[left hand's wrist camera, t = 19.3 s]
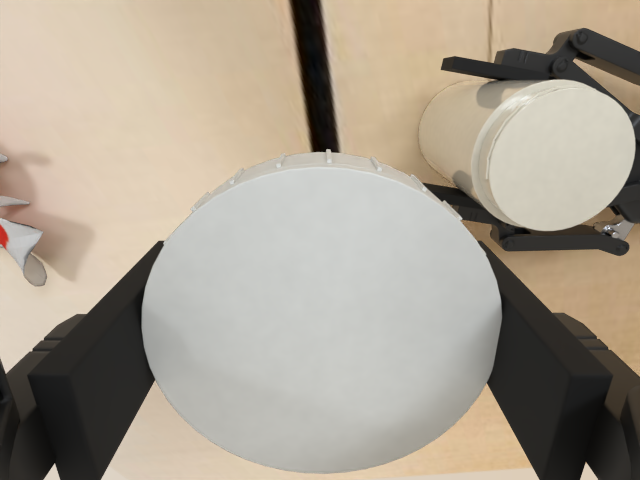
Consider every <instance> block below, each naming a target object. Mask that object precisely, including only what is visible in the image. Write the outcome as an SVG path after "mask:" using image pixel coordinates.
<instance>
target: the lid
mask: <svg viewBox="0 0 640 480" xmlns="http://www.w3.org/2000/svg"><path fill="white" fill-rule="evenodd" d="M191 210H192V211H193V212H192V213H191V214H190V215H189V216H188V217H187V218H186V219H185V220H184V221H183V222H182V223H181V224H180V225H179V226H178V227H177V228H176V229H175V231H174V232H173V233H172V234H171V235H170V236H169V237H168V238H167V239H166V240H165V241H164V243H163V244H164V246H163V248H162V250H161V252H160V253H159V255H158V257H157V259H156V261H155V263H154V265H153V267H152V270H151V272H150V275H149V278H148V281H147V284H146V287H145V292H144V298H143V303H142V323H141V329H142V336H143V344H144V349H145V353H146V356H147V360H148V363H149V366H150V369H151V371H152V373H153V375H154V378H155V380H156V382H157V384H158V386H159V387H160V389H161V391H162V392H163V394H164V395H165V397H166V399H167V400H168V402H169V403H170V404H171V405H172V406H173V408H174V409H175V410H176V411H177V412H178V414H179V415H180V416H181V417H182V418H183V419H184V420H185V421H186V422H187V423H188V424H189V425H191V426H192V427H193V428H194V429H195V430H196V431H197V432H199V433H200V434H201V435H203V436H204V437H205V438H207V439H208V440H210V441H211V442H213V443H214V444H216V445H218V446H219V447H221V448H223V449H225V450H226V451H228V452H230V453H232V454H235V455H237V456H239V457H241V458H244V459H246V460H249V461H252V462H255V463H258V464H261V465H264V466H267V467H272V468H276V469H280V470H285V471H293V472H301V473H319V474H328V473H344V472H351V471H357V470H363V469H368V468H372V467H375V466H379V465H383V464H386V463H389V462H392V461H394V460H397V459H400V458H402V457H405V456H407V455H409V454H411V453H413V452H415V451H417V450H419V449H421V448H422V447H424V446H426V445H427V444H429V443H430V442H432V441H434V440H435V439H437V438H438V437H439V436H441V435H442V434H443V433H444V432H446V431H447V430H448V429H449V428H451V427H452V426H453V425H454V424H455V423H456V422H457V421H458V420H459V419H460V418H461V417H462V416H463V415H464V414H465V413H466V412H467V411H468V410H469V408H470V407H471V406H472V404H473V403H474V402H475V400H476V399H477V398H478V397H479V395H480V393H481V392H482V390H483V388H484V386H485V385H486V383H487V381H488V379H489V377H490V375H491V372H492V369H493V365H494V359H495V354H496V349H497V343H498V338H499V333H500V327H501V322H502V306H501V298H500V293H499V289H498V285H497V280H496V278H495V275H494V273H493V270H492V268H491V265H490V263H489V260H488V258H487V257H486V253H485V251H484V250H483V249H482V248H481V247H480V245H479V244H478V242H477V240H476V239H475V238H474V237H473V235H472V234H471V233H470V232H469V231H468V229H467V228H466V227H465V226H464V225H463V223H462V222H461V220H462V219H463V218H462V217H461V216H460V215H459V214H458V213H457V212H456V211H455V210H454V209H453V208H452V207H451V206H450V205H449V204H448V203H447V202H446V201H445V200H444V201H443V202H441V201H440V200H439V199H438V198H437V197H436V196H435V195H434V194H433V193H431V192H430V191H429V190H428V189H427V188H426V187H425V186H424V185H423V184H422V183H421V182H420V181H419V180H418V179H417V177H416V176H414V175H413V174H411V176H408V175H407V174H405V173H403V172H401V171H399V170H397V169H395V168H393V167H391V166H388V165H386V164H384V163H380V162H378V161H377V159H376V158H375V157H372V156H371V159H368V158H365V157H360V156H354V155H349V154H343V153H331V150H330V149H326V152H314V153H303V154H293V155H289V156H286V155H285V153H283V154H281V155H280V157H279V158H275V159H272V160H269V161H266V162H263V163H261V164H258V165H255V166H253V167H250V168H248V169H247V170H245V171H244V169H243V168H241V169H240V170H239V171H238V172H237V173H236V174H235V175H234V176H233V177H232V178H230V179H229V180H227V181H226V182H225V183H223V184H222V185H221V186H219V187H218V188H216V189H215V190H214V191H213V192H212V193H211V194H209V193H208V192H207V193H206V194H205V195H204V196H203V197H202V198H201V199H200V200H199V201H198V202H197V203H196V204H195V205H194V206H193V207H192V208H191Z"/></svg>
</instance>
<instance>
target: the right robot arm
mask: <svg viewBox="0 0 640 480" xmlns="http://www.w3.org/2000/svg"><path fill="white" fill-rule="evenodd" d="M574 58H576V59H578V60H580V61H582V62H585V63H587V64H589V65H592V66H594V67H596V68H599V69H601V70H603V71H606V72H608V73H610V74H613V75H615V76H617V77H620V78H622V79H624V80H627V81H629V82H631V83H634V84H636V85H639V86H640V52H639V51H637V50H634V49H632V48H630V47H628V46H625V45H623V44H621V43H619V42H616V41H614V40H612V39H610V38H607V37H605V36H603V35H600V34H598V33H596V32H594V31H591V30H589V29H586V28H582V29H576V30H571V31H567V32H562V33H559V34H558V35H557V36H556V37H555V38H554V41H553V46H552V47H551V49H550V50H549V51H548V52H547V53H546V54H542V53H537V52H531V51H526V50H520V49H515V48H512V49H507V50H502V51H498V52H497V54H496V57H495V61H494V63H489V62H483V61H478V60H472V59H467V58H461V57H456V56H454V57H449V58H444V59H443V63H442V67H441V70H445V71H450V72H456V73H462V74H467V75H473V76H479V77H484V78H490V79H495V80H572V81H576V82H580V83H583V84H586V85H588V86H590V87H592V88H594V89H596V90H597V91H599V92H601V93H603V94H605V95H608V96H609V97H611V98H612V99H614V100H615V101H616V102H617V103H618V104H619V105H620V106H621V107H622V108H623V109H624V111H625V112H626V113H627V115H628V117H629V119H630V121H631V123H632V126H633V130H634V135H635V156H634V161H633V165H632V169H631V171H630V174H629V176H628V178H627V180H626V182H625V184H624V186H623V187H622V189H621V190H620V192H619V193H618V195H617V196H616V197H615V198H614V199H613V201H612V202H611V203H610V204H609V205H608V206H607V207H610V208H611V210H612V211H613V212H614V214H615V215H616V217H615V218H614V219H613V220H611V221H602V222H596V223H594V224H593V227H592V226H588V225H576V226H573V227H571V228H567V229H563V230H556V231H539V230H533V229H529V228H526V227H518V226H514V225H511V224H508V223H505V222H503V221H501V220H500V219H498V218H496V217H495V216H493V215H492V214H491V213H490V212H488V211H487V210H486V209H484V208H483V207H482V206H481V205H479V204H478V203H477V202H476V201H474V200H473V199H472V198H470V197H469V196H468V195H467V194H465V193H464V192H463V191H461V190H460V189H457V188H451V187H445V186H439V185H433V184H427V183H422V184H423V185H424V186H425V187H426V188H427V189H428V190H429V191H430V192H431V193H433V194H434V195H435V196H436V197H437V198H438V199H439V200H440V201H441V202H443V201H444V200H445V201H446V202H447V203H448V204H450V205H453V206H452V208H453V209H454V210H455V211H456V212H457V213H458V214H459V215H460V216H461V217H462V218H463V219H462V220H468V221H475V222H481V223H487V224H492V230H491V232H490V237H491V238H492V239H493V240H494V241H495V242H496V243H497V244H498V245H499V246H500V247H502V248H503V249H504V250H505V251H540V250H582V249H599V250H602V251H605V252H608V253H611V254H614V255H617V256H621V255H624V254H626V253H627V252H628V250H629V244H628V243H627V242H625V241H624V240H625V238H626V236H627V235H628V233H629V232H630V230H631V229H632V227H633V225H634V224H638V223H640V115H638V114H635V113H633V112H632V111H630V110H629V109H628V108H627V107H626V106H624V105H623V104H622V103H621V102H620V101H619V100H617V99H616V98H615V97H614V96H613V95H612V94H610V93H609V92H608V91H607V90H606V89H604V88H603V87H602V86H601V85H600V84H599V83H597V82H596V81H595V80H594V79H593V78H591V77H590V76H589V75H588V74H587V73H586V72H584V71H583V70H582V69H581V68H580V67H578V66H577V65H576V64H575V63H574V62H573V60H574Z"/></svg>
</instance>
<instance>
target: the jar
mask: <svg viewBox="0 0 640 480" xmlns="http://www.w3.org/2000/svg"><path fill="white" fill-rule="evenodd" d="M418 138H419V146H420V149H421V152H422V154H423V156H424V158H425V160H426V161H427V163H428V164H429V165H430V166H431V167H432V168H433V169H435V170H436V171H437V172H438V173H440V174H441V175H442V176H443V177H445V178H446V179H447V180H449V181H450V182H451V183H452V184H454V185H455V186H456V187H458V188H459V189H460V190H461V191H463V192H464V193H465V194H467V195H468V196H469V197H470V198H472V199H473V200H474V201H476V202H477V203H478V204H479V205H481V206H482V207H483V208H484V209H486V210H487V211H488V212H490V213H491V214H492V215H493V216H495V217H496V218H498V219H500V220H501V221H503V222H505V223H508V224H511V225H514V226H518V227H526V228H529V229H533V230H539V231H556V230H563V229H567V228H571V227H573V226H576V225H579V224H581V223H583V222H585V221H587V220H589V219H591V218H592V217H594V216H595V215H597V214H598V213H599V212H601V211H602V210H603V209H604V208H606V207H607V206H608V205H609V204H610V203H611V202H612V201H613V199H614V198H615V197H616V196H617V195H618V193H619V192H620V190H621V189H622V187H623V186H624V184H625V182H626V180H627V178H628V176H629V174H630V171H631V169H632V165H633V161H634V156H635V135H634V130H633V126H632V123H631V121H630V119H629V117H628V115H627V113H626V112H625V111H624V109H623V108H622V107H621V106H620V105H619V104H618V103H617V102H616V101H615V100H614V99H612V98H611V97H609V96H608V95H605V94H603V93H601V92H599V91H597V90H596V89H594V88H592V87H590V86H588V85H586V84H583V83H580V82H576V81H572V80H474V81H462V82H459V83H455V84H453V85H451V86H449V87H447V88H445V89H444V90H442V91H441V92H440V93H438V94H437V95H436V96H435V97H434V98H433V99H432V100H431V102H430V103H429V104H428V106H427V107H426V109H425V111H424V113H423V115H422V118H421V121H420V125H419V132H418Z"/></svg>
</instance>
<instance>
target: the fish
mask: <svg viewBox="0 0 640 480" xmlns="http://www.w3.org/2000/svg"><path fill="white" fill-rule="evenodd" d="M7 160H8V158H7V157H6V156H4V155H2V154H0V163H2V162H5V161H7ZM23 204H30V202H27V201H23V200H19V199H16V198H11V197H6V196H0V207H1V206H9V205H23ZM42 234H43V232H42V231H40V230H38V229H36V228H33V227H31V226H28V225H24V224H20V223H15V222H11V221H8V220H5V219H2V218H0V247H4V248H5V249H6V250H7V251H8V252H9V254H10V255H11V256H12V257H13V258H14V259H15V261H16V262H17V264H18V265H19V267H20V268H21V270H22V272H23V275H24V277H25V278H26V279H27V280H28V281H29V282H30V283H31V284H32V285H34V286H43V285H45V282H46V279H47V275H46V271H45V269H44V266H43V264H42V263H41V262H40V261H39V260H38V259H37V258H36V257H35V256H33V255H32V254H30V252H31V251H32V249H33V248H34V246H35V245H36V243H37V242H38V240H39V239H40V237H41V235H42Z"/></svg>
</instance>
